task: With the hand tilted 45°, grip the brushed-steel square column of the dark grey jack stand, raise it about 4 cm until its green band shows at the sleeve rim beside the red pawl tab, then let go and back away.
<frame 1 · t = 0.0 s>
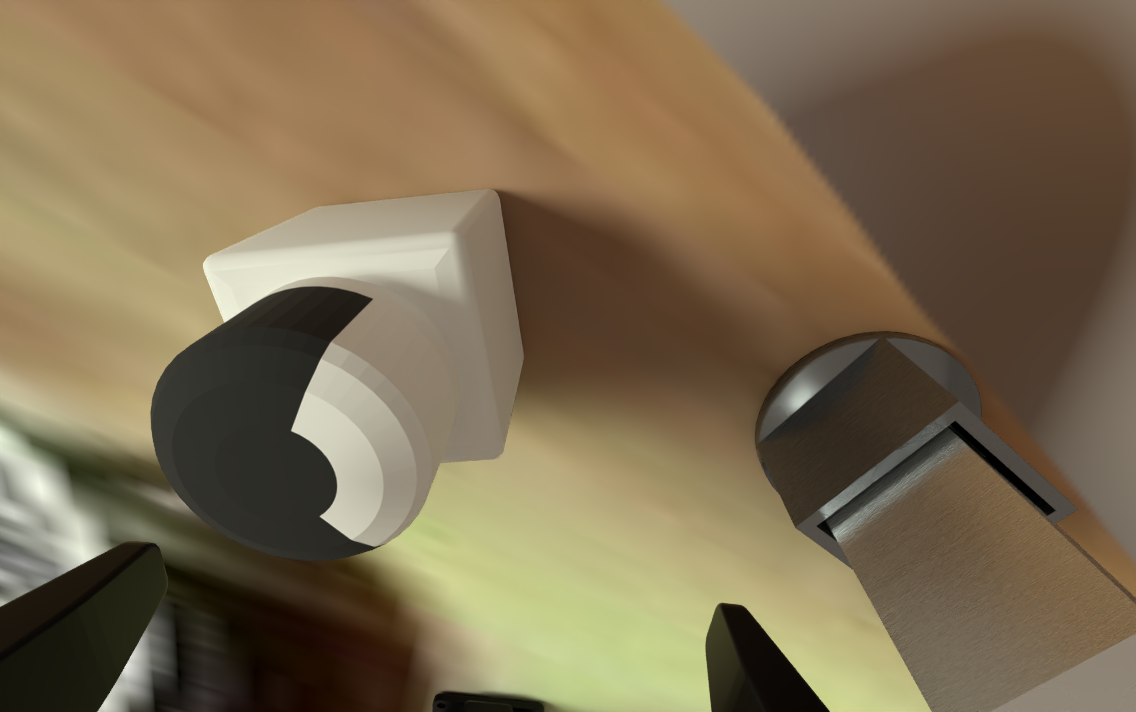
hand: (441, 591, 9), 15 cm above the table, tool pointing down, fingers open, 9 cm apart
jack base: (860, 426, 25), on the table
column: (952, 540, 18), point 7 cm above the table, slide at 0.0 cm
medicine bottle: (426, 286, 23), on the table
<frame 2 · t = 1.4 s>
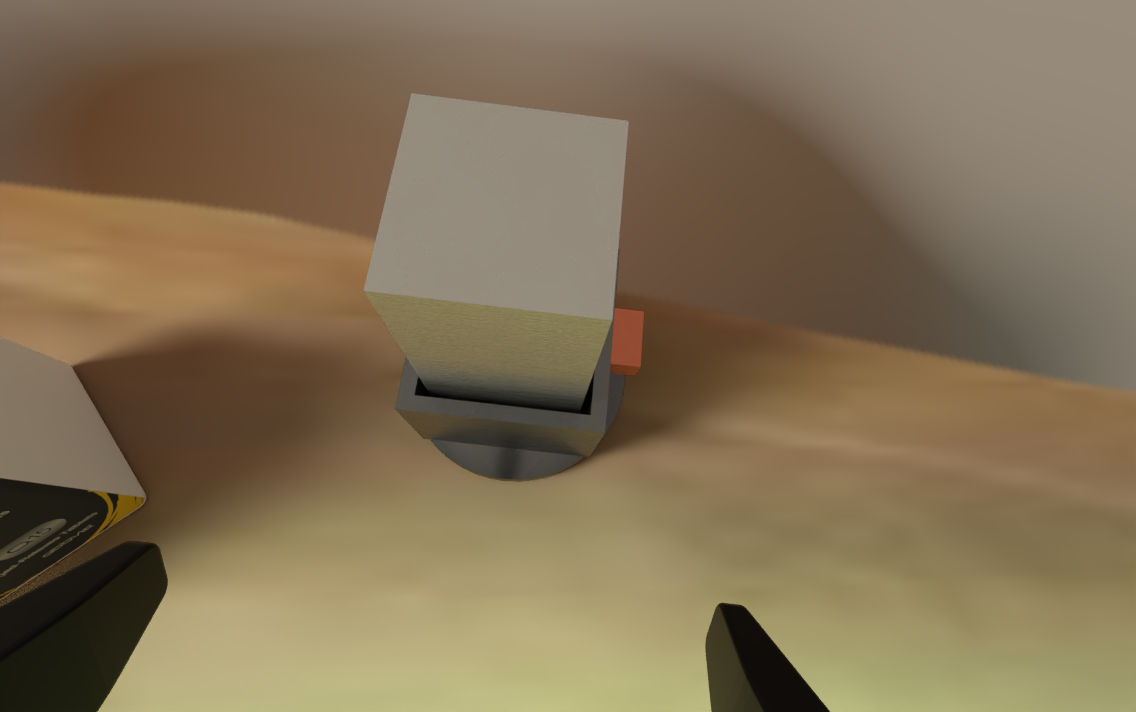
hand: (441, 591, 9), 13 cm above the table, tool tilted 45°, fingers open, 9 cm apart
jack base: (518, 374, 24), on the table
column: (513, 311, 18), point 7 cm above the table, slide at 0.0 cm
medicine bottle: (25, 486, 22), on the table
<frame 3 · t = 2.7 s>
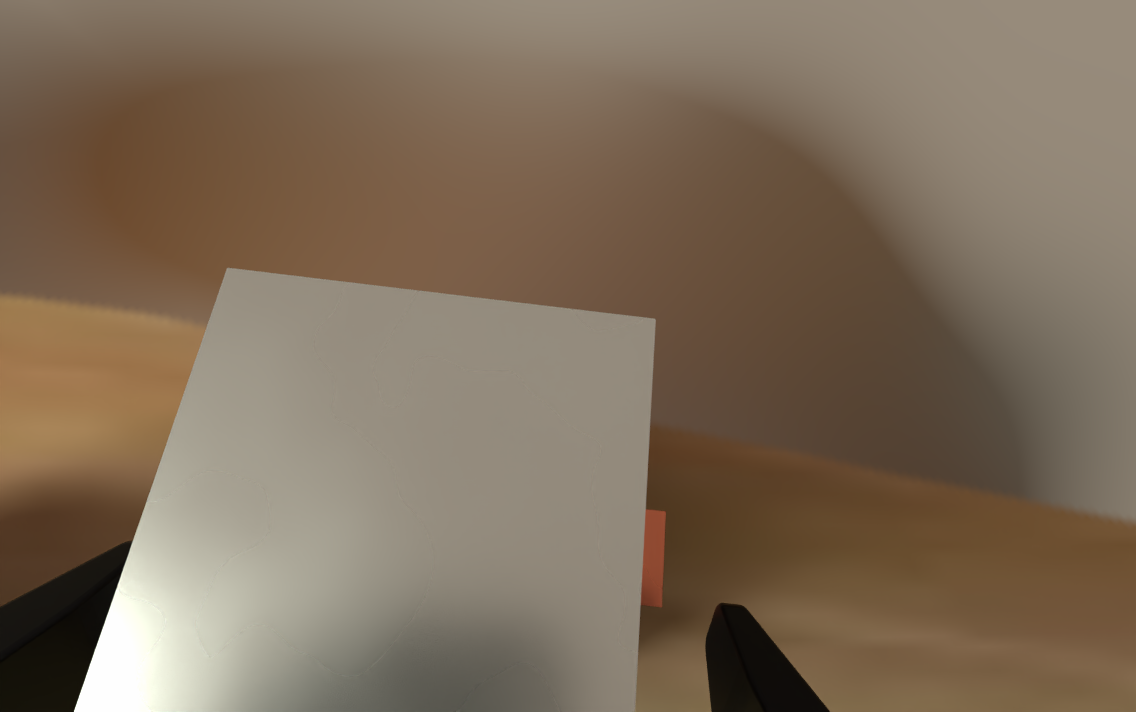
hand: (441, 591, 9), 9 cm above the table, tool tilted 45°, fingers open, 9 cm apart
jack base: (488, 542, 18), on the table
column: (464, 535, 11), point 7 cm above the table, slide at 0.0 cm
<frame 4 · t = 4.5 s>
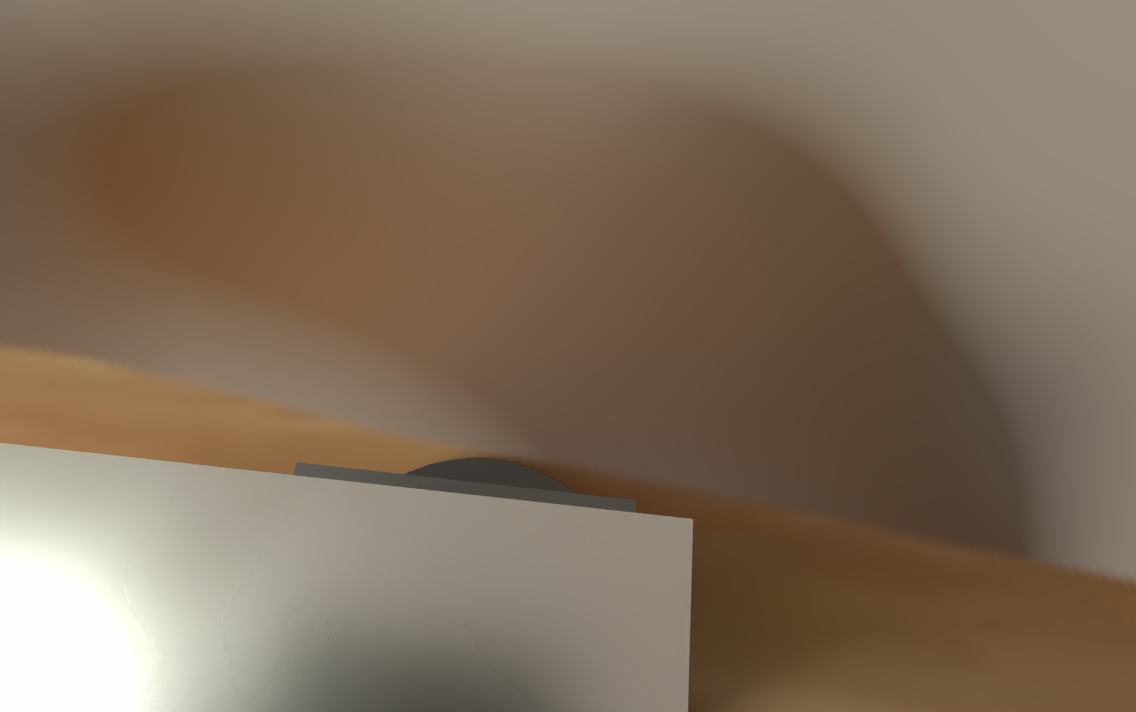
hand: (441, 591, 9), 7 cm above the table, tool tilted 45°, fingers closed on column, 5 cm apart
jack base: (470, 629, 15), on the table
column: (427, 686, 9), point 7 cm above the table, slide at 0.0 cm, touching gripper
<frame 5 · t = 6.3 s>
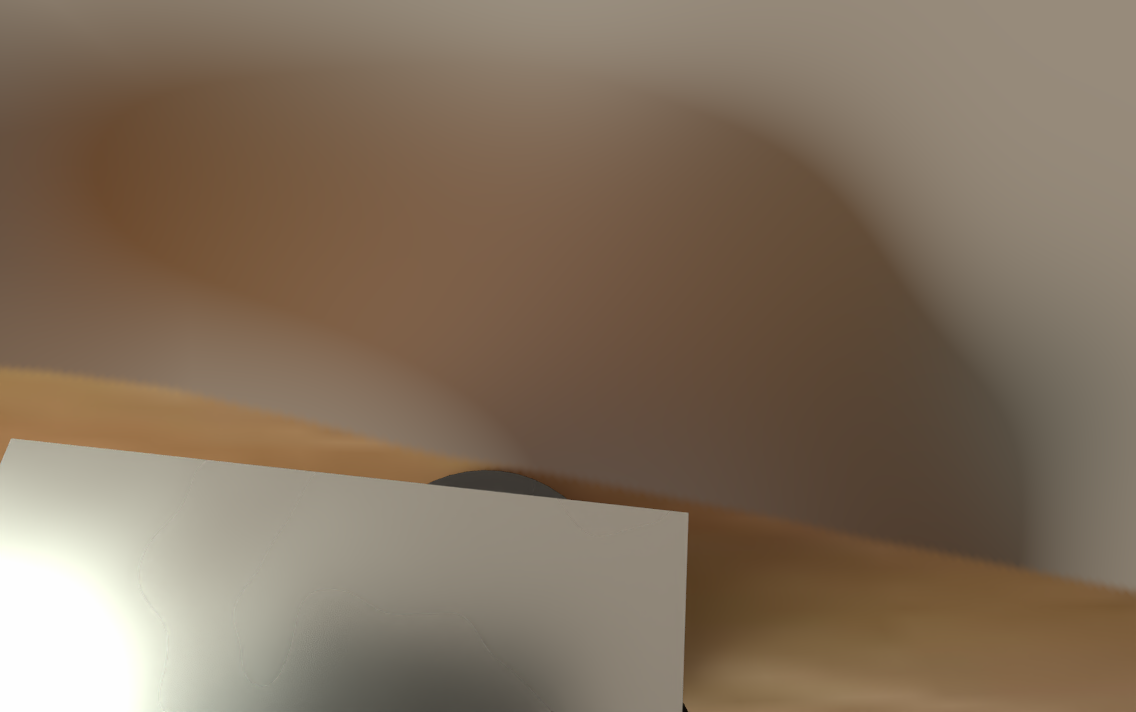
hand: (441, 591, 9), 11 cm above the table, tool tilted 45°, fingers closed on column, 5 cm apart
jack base: (482, 608, 19), on the table
column: (430, 677, 9), point 10 cm above the table, slide at 3.6 cm, touching gripper
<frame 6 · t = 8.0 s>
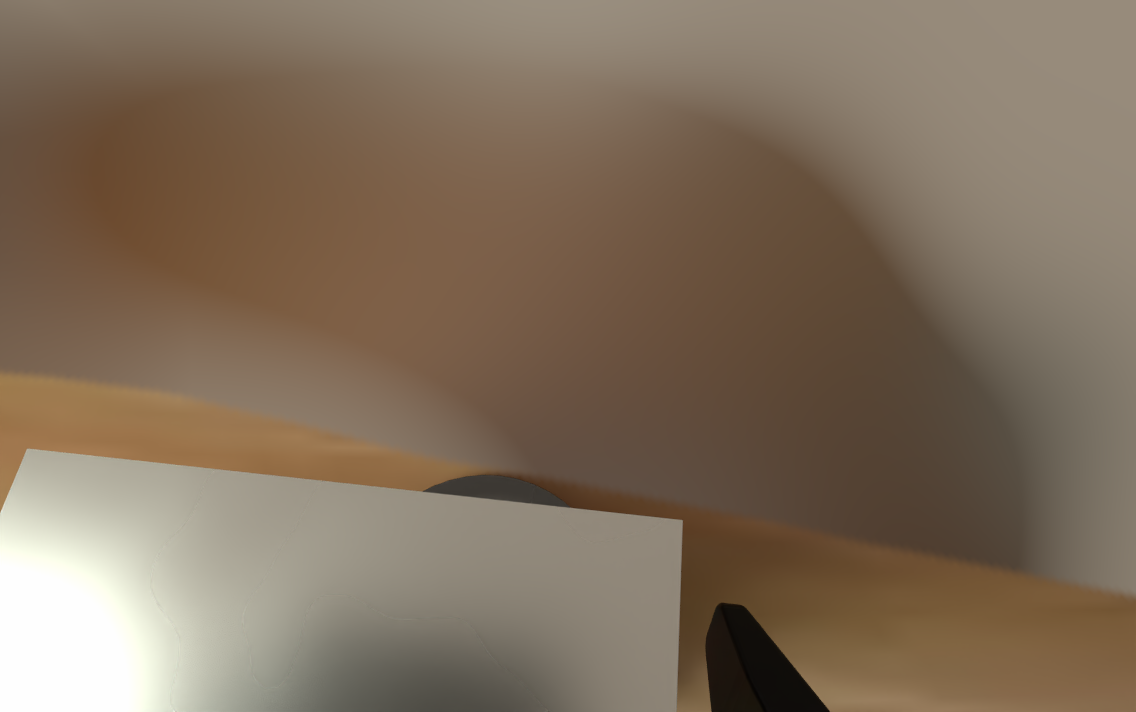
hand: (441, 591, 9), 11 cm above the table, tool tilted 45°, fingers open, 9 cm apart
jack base: (482, 613, 19), on the table
column: (431, 681, 9), point 11 cm above the table, slide at 3.7 cm
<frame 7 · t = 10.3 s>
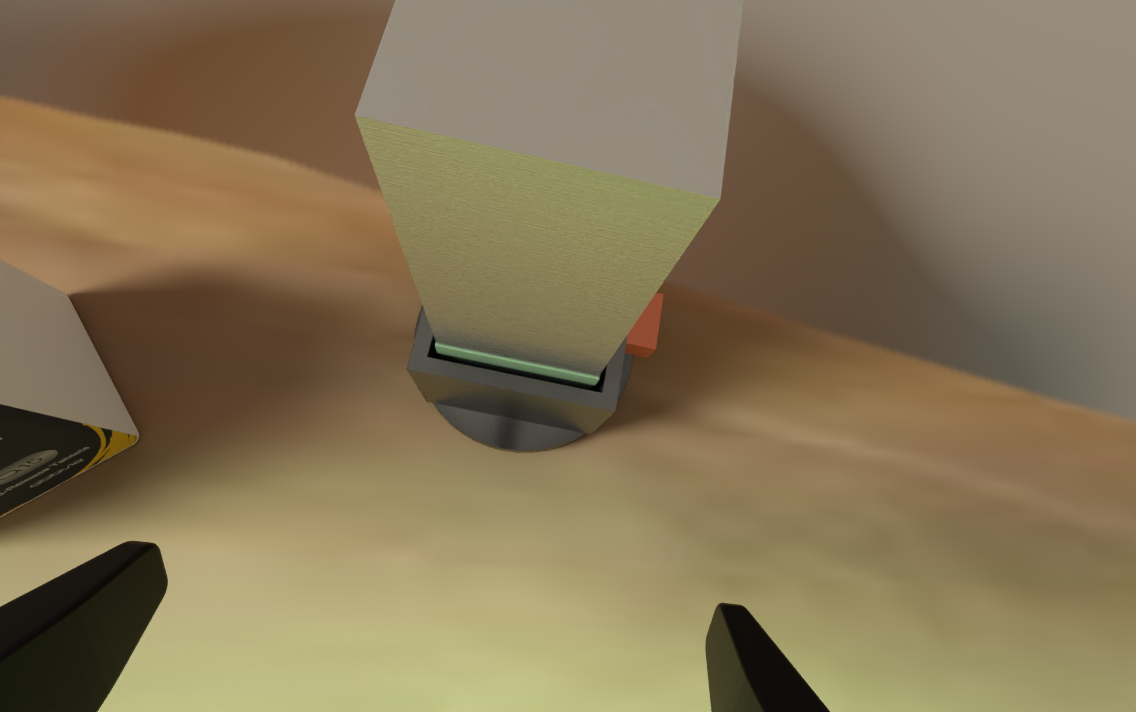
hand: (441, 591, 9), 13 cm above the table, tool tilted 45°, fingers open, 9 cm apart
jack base: (525, 346, 24), on the table
column: (543, 221, 14), point 11 cm above the table, slide at 3.7 cm
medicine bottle: (13, 414, 21), on the table
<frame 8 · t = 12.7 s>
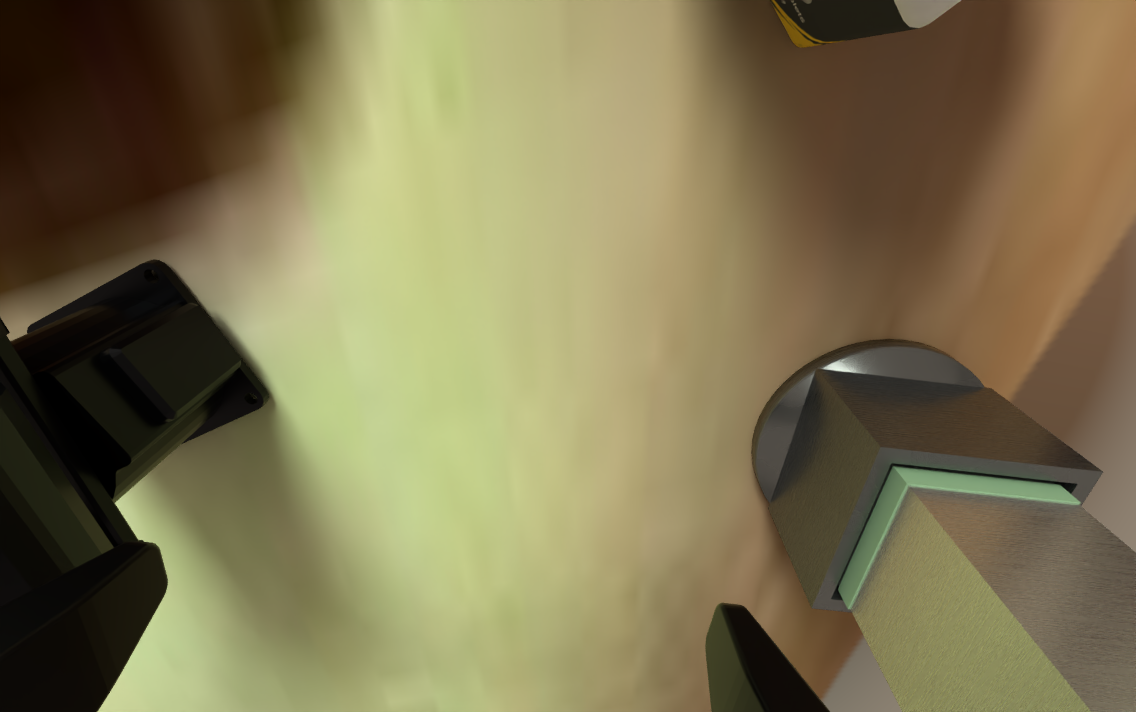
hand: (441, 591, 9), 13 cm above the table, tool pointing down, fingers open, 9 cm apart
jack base: (864, 440, 23), on the table
column: (1060, 690, 13), point 11 cm above the table, slide at 3.7 cm
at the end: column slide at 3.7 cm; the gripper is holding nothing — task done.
